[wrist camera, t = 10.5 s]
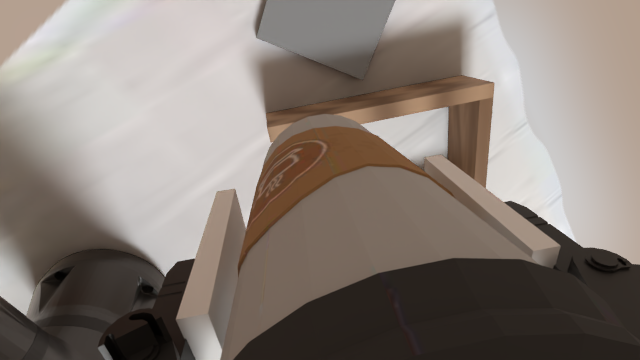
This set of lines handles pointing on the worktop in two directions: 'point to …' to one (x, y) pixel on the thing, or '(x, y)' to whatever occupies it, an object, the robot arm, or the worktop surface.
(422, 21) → the worktop surface
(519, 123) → the worktop surface
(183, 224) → the worktop surface
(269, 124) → the u-shaped wooden frame
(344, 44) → the coaster
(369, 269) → the coffee cup
